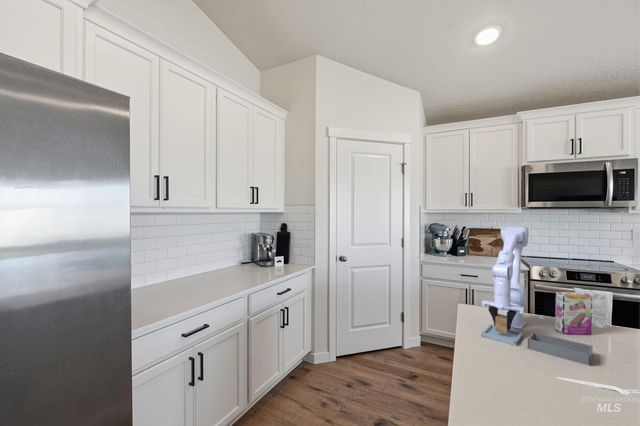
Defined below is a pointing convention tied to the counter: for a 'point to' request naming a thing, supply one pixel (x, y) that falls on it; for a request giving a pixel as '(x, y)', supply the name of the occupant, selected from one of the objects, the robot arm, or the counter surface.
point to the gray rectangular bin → (561, 348)
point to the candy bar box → (573, 313)
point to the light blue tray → (503, 335)
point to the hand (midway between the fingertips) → (502, 327)
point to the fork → (602, 386)
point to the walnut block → (501, 323)
